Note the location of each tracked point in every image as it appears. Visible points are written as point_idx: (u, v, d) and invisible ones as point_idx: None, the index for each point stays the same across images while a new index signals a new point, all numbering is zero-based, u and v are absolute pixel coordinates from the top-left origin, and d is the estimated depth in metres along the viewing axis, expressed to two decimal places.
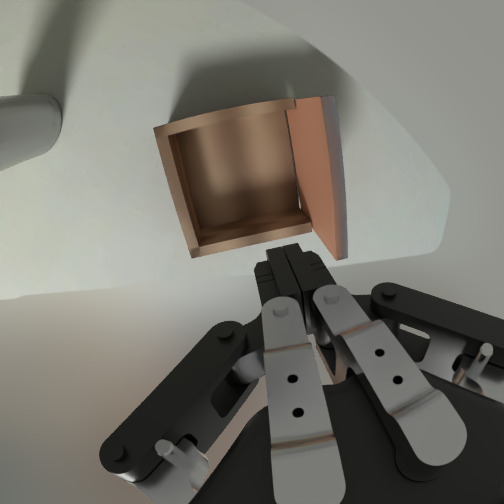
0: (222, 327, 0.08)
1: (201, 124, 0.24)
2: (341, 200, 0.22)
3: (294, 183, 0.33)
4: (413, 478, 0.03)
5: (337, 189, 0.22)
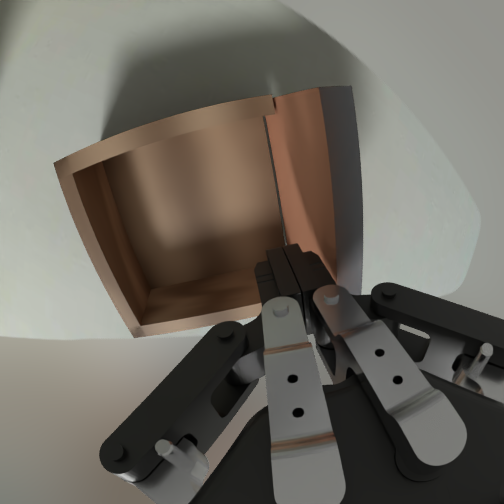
0: (222, 327, 0.08)
1: (116, 151, 0.14)
2: None
3: (279, 227, 0.23)
4: (413, 478, 0.03)
5: (347, 281, 0.11)
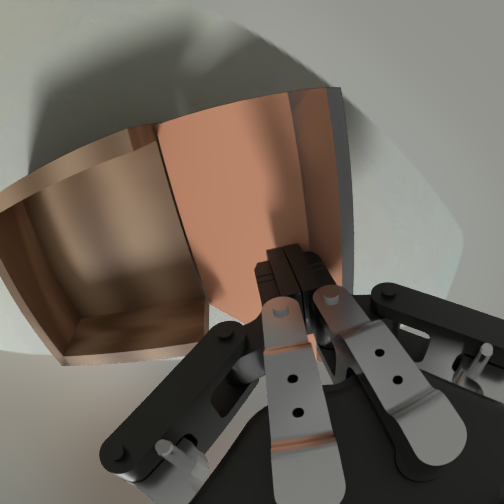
0: (222, 327, 0.08)
1: (9, 203, 0.12)
2: (349, 287, 0.12)
3: (190, 263, 0.21)
4: (413, 478, 0.03)
5: (347, 273, 0.12)
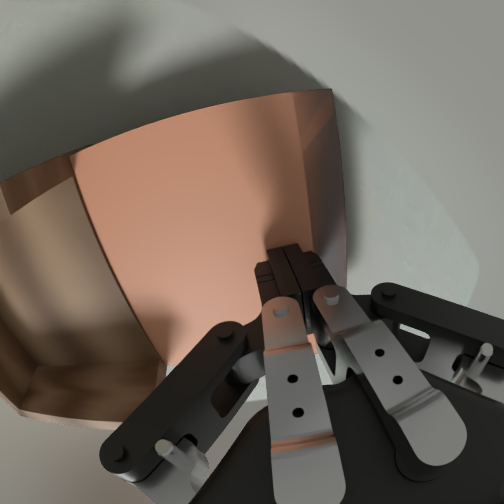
0: (222, 327, 0.08)
1: None
2: None
3: (135, 325, 0.15)
4: (413, 478, 0.03)
5: None
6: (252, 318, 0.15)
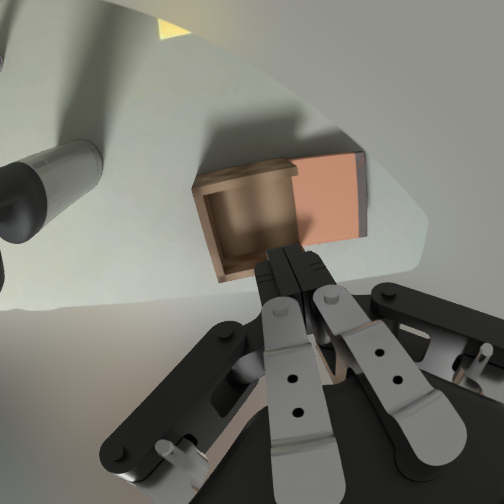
0: (222, 328, 0.08)
1: (228, 187, 0.35)
2: None
3: (296, 224, 0.44)
4: (413, 478, 0.03)
5: None
6: (338, 219, 0.44)
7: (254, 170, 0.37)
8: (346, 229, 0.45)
